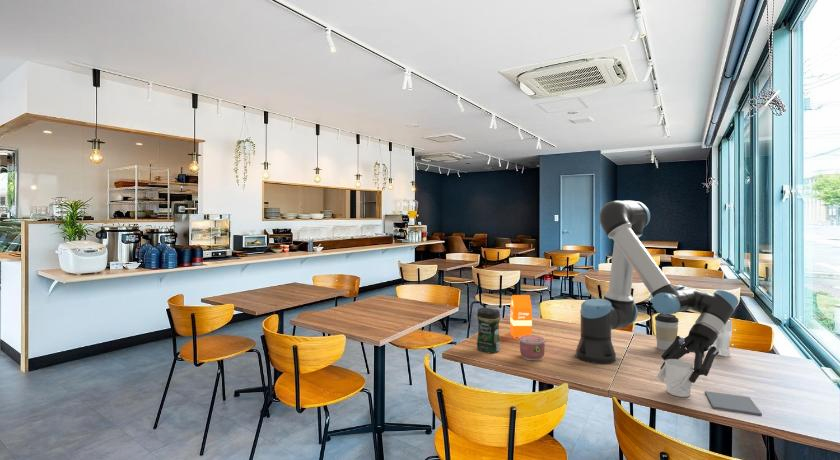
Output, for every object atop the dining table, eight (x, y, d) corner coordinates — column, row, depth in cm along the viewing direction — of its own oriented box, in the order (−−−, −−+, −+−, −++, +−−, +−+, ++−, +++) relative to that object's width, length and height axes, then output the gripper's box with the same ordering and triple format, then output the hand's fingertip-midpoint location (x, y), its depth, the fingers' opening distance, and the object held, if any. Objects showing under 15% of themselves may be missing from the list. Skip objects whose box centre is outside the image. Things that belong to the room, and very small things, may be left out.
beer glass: (725, 358, 172) (726, 321, 171) (707, 353, 178) (708, 318, 178) (734, 355, 175) (735, 319, 175) (716, 350, 181) (717, 315, 181)
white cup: (659, 388, 144) (659, 359, 143) (681, 387, 144) (681, 358, 144) (675, 398, 136) (675, 368, 135) (698, 397, 136) (698, 366, 136)
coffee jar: (474, 350, 184) (473, 308, 184) (483, 345, 190) (483, 305, 190) (493, 355, 178) (493, 311, 177) (502, 350, 184) (502, 308, 183)
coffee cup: (681, 352, 179) (682, 317, 179) (658, 351, 181) (659, 316, 181) (673, 345, 188) (674, 312, 188) (651, 344, 190) (651, 311, 189)
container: (516, 359, 173) (516, 340, 172) (522, 352, 182) (522, 333, 182) (542, 363, 168) (542, 343, 167) (547, 355, 177) (547, 336, 177)
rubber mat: (713, 408, 129) (713, 406, 129) (704, 392, 140) (704, 390, 140) (761, 415, 124) (761, 413, 124) (749, 398, 135) (749, 397, 135)
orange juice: (531, 338, 201) (532, 296, 200) (513, 338, 201) (513, 296, 201) (528, 333, 209) (528, 293, 208) (510, 333, 209) (510, 293, 208)
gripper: (743, 345, 135) (707, 403, 130) (683, 328, 154) (649, 378, 149) (732, 330, 133) (695, 389, 128) (672, 315, 152) (638, 366, 147)
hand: (671, 383), depth 139 cm, fingers closed on white cup, 8 cm apart
